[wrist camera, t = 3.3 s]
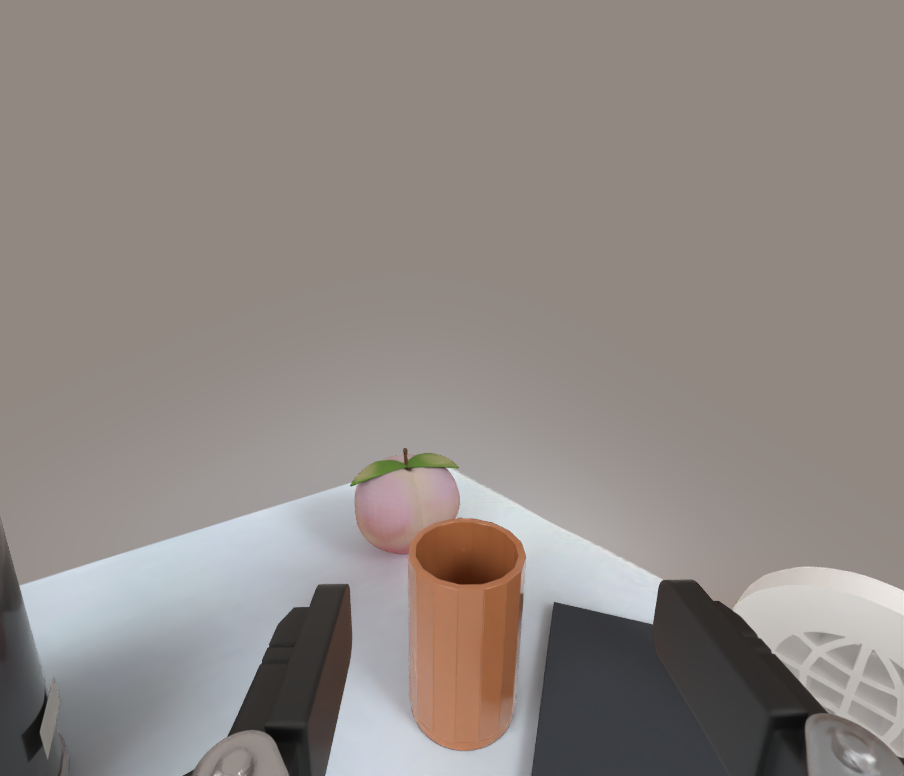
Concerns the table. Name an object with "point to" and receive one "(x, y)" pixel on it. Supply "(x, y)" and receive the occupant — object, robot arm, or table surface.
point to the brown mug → (464, 630)
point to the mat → (613, 704)
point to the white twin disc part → (836, 641)
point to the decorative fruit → (404, 498)
